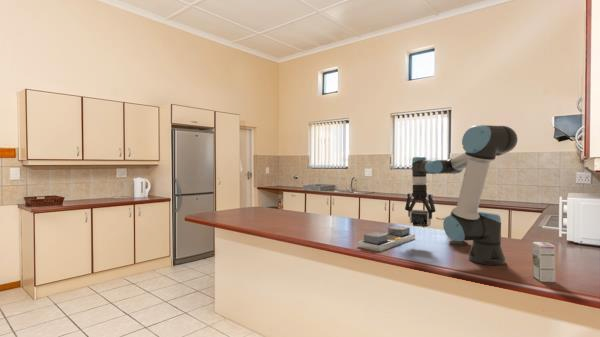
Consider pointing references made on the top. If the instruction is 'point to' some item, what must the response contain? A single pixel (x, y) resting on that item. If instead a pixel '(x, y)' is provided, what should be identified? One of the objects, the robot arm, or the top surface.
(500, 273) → the top surface
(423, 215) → the electrical switch
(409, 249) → the top surface
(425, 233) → the top surface
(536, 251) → the syrup box
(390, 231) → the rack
